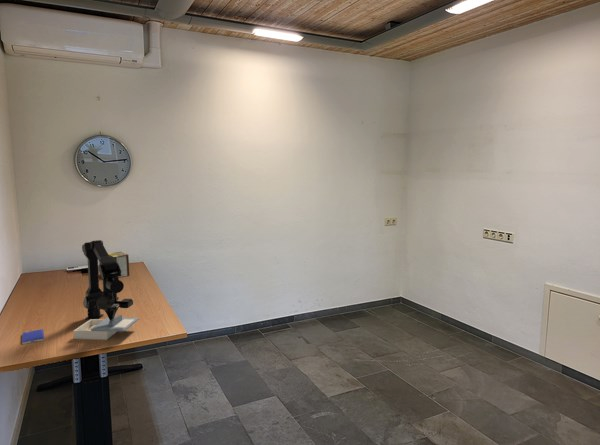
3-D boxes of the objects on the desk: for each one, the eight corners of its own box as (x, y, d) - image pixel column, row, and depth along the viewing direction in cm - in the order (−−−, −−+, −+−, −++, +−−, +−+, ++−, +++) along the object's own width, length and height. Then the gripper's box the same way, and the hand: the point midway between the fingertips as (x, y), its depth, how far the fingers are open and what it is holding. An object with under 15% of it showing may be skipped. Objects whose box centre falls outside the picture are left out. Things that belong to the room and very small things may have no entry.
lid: (107, 318, 195) (107, 312, 195) (138, 319, 195) (138, 313, 194) (91, 330, 181) (90, 323, 181) (125, 331, 181) (124, 324, 180)
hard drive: (22, 332, 187) (21, 342, 176) (43, 328, 191) (43, 338, 181) (22, 335, 187) (22, 345, 177) (43, 332, 191) (44, 341, 181)
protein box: (122, 271, 304) (121, 251, 302) (129, 275, 292) (128, 254, 290) (107, 274, 297) (106, 253, 295) (114, 278, 285) (113, 256, 283)
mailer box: (91, 327, 196) (90, 319, 196) (121, 327, 196) (121, 319, 195) (74, 339, 182) (73, 330, 182) (106, 339, 182) (106, 331, 181)
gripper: (79, 293, 178) (81, 327, 180) (121, 293, 178) (123, 328, 179) (93, 286, 189) (95, 318, 191) (132, 286, 189) (134, 319, 191)
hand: (111, 321), depth 188 cm, fingers closed
